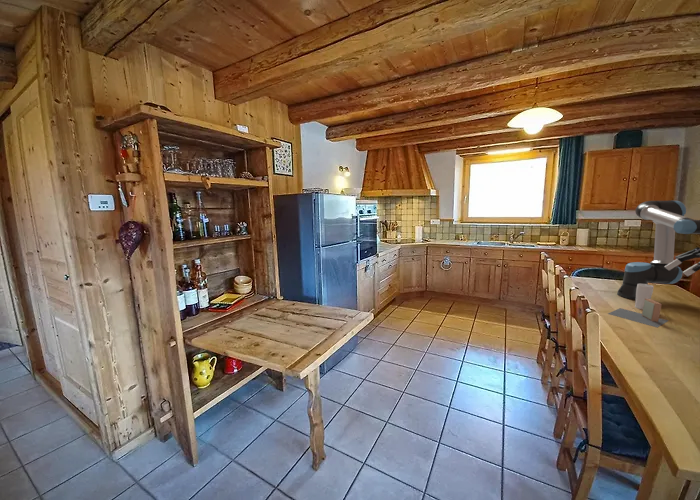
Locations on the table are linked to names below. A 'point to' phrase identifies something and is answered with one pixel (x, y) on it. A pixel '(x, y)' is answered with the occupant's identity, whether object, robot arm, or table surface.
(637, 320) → the mat
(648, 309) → the tile
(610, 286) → the table surface
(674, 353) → the table surface
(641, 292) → the white rectangular block
